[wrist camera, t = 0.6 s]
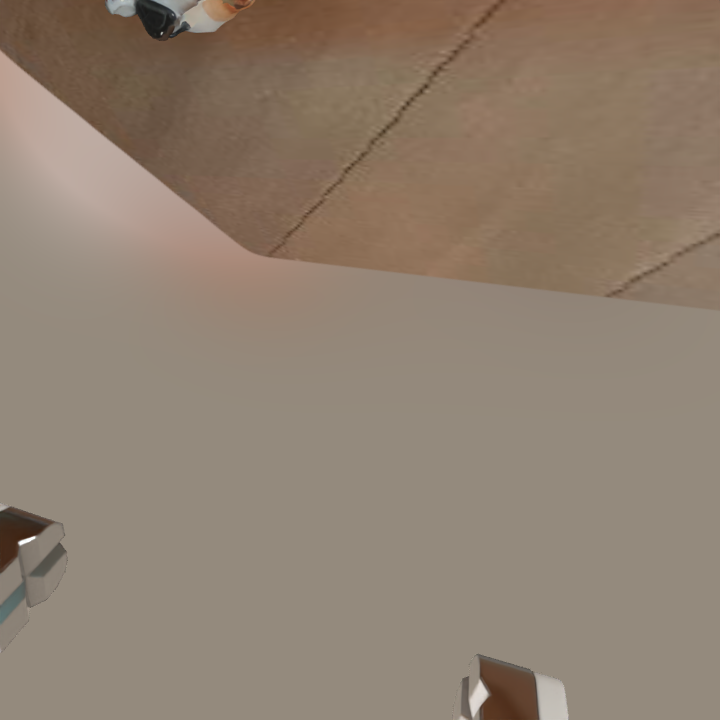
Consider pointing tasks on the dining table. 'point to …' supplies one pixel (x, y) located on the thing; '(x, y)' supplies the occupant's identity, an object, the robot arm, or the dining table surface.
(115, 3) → the lucky cat figurine
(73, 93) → the dining table surface
